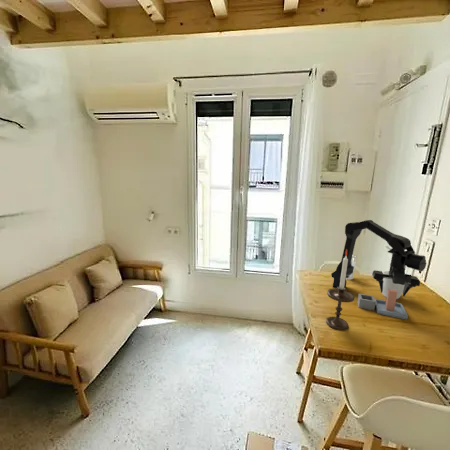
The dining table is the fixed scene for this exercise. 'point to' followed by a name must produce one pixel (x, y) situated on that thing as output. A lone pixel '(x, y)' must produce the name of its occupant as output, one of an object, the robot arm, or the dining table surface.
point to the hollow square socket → (366, 301)
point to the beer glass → (353, 263)
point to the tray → (398, 311)
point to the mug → (391, 286)
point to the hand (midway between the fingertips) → (392, 294)
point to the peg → (391, 300)
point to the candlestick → (340, 299)
